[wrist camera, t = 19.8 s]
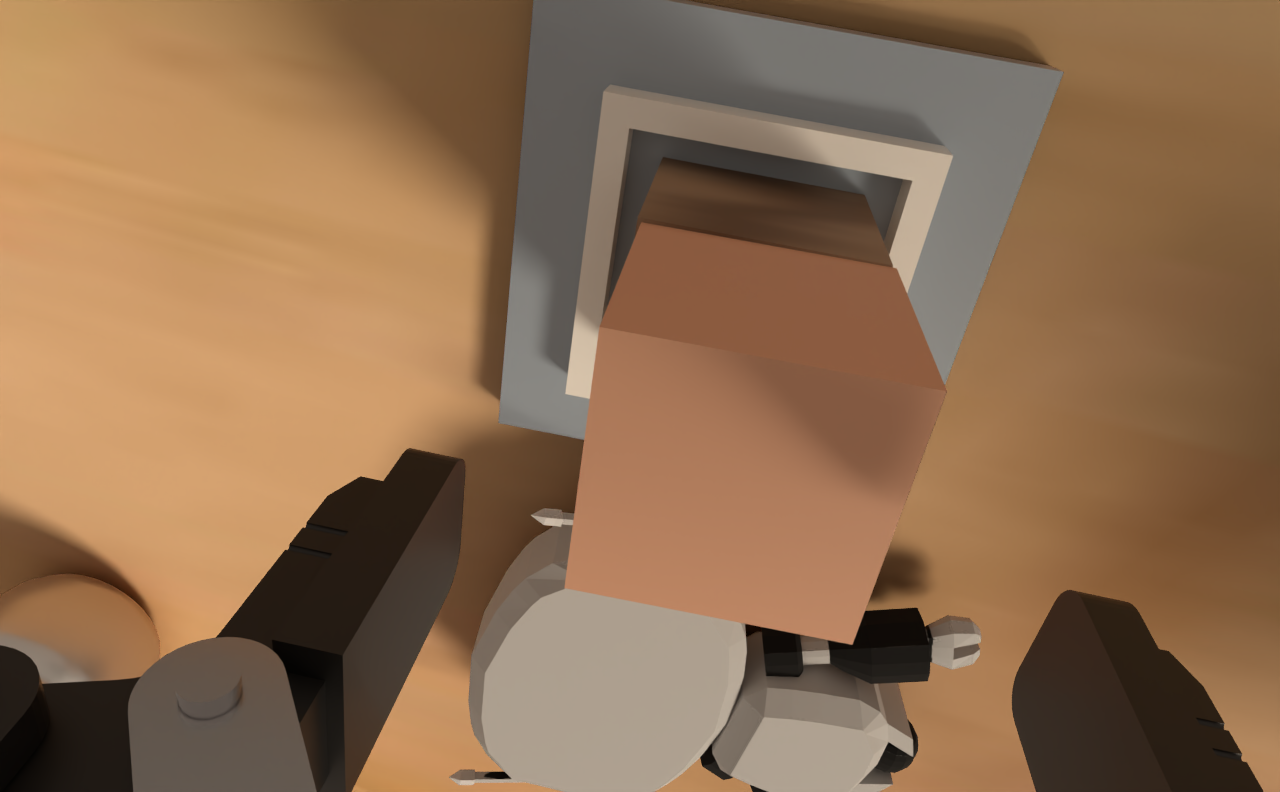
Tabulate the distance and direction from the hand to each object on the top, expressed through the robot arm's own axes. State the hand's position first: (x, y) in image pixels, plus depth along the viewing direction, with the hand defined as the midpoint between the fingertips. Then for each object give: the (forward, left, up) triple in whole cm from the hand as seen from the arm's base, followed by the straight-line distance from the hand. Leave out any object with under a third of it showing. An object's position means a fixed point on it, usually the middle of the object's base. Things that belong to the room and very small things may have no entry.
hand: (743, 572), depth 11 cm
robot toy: (-1, +14, -13) cm, 19 cm away
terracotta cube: (0, 0, -7) cm, 7 cm away
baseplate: (0, 0, -13) cm, 13 cm away
